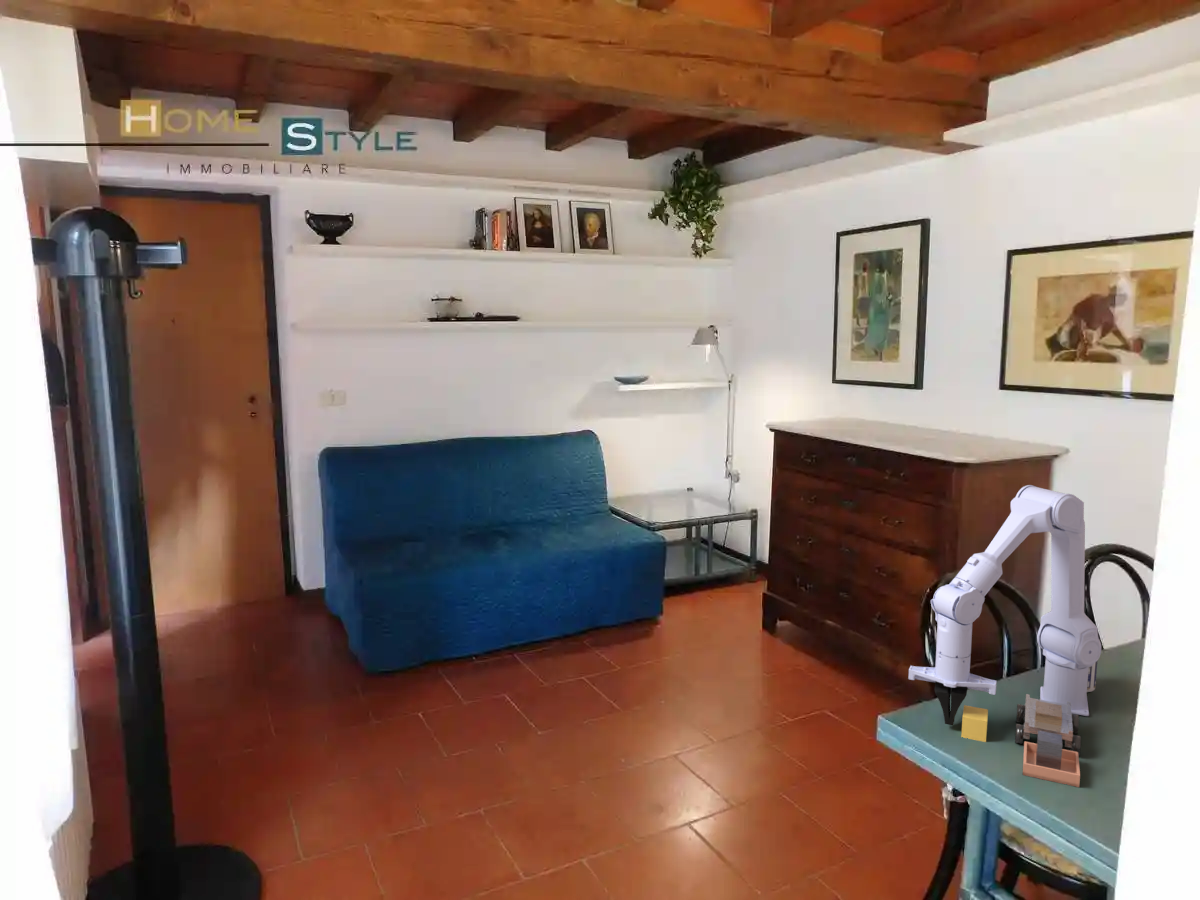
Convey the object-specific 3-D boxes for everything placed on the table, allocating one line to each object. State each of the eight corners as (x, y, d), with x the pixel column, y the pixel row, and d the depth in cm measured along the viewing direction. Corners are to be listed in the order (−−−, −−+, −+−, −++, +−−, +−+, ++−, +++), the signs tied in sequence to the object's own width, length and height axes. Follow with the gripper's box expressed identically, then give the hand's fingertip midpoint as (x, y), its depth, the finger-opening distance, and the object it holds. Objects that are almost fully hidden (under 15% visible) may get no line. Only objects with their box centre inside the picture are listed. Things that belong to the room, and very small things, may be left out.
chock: (962, 725, 150) (964, 705, 149) (986, 730, 148) (988, 709, 148) (961, 737, 146) (962, 716, 145) (985, 742, 144) (987, 721, 143)
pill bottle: (1076, 679, 168) (1080, 634, 166) (1101, 689, 163) (1105, 643, 162) (1058, 684, 166) (1061, 638, 164) (1082, 694, 161) (1086, 648, 159)
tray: (1023, 752, 140) (1024, 741, 140) (1077, 763, 137) (1078, 752, 136) (1022, 774, 133) (1023, 763, 133) (1079, 787, 130) (1080, 775, 129)
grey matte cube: (1035, 758, 137) (1037, 730, 137) (1059, 762, 136) (1061, 735, 135) (1035, 768, 134) (1038, 739, 134) (1060, 773, 133) (1062, 744, 132)
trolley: (1016, 716, 153) (1018, 687, 152) (1076, 728, 148) (1079, 698, 147) (1014, 746, 142) (1016, 715, 141) (1079, 759, 138) (1082, 727, 137)
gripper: (907, 652, 147) (904, 723, 149) (996, 667, 140) (992, 741, 142) (913, 639, 153) (909, 707, 155) (998, 652, 146) (994, 723, 148)
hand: (949, 722), depth 149 cm, fingers closed
